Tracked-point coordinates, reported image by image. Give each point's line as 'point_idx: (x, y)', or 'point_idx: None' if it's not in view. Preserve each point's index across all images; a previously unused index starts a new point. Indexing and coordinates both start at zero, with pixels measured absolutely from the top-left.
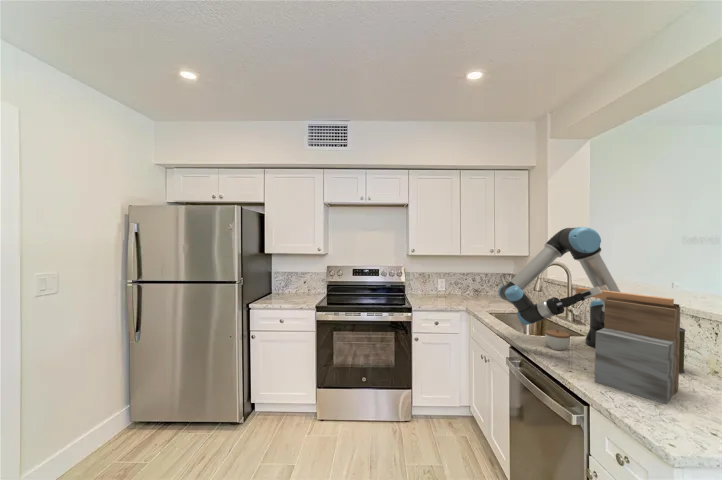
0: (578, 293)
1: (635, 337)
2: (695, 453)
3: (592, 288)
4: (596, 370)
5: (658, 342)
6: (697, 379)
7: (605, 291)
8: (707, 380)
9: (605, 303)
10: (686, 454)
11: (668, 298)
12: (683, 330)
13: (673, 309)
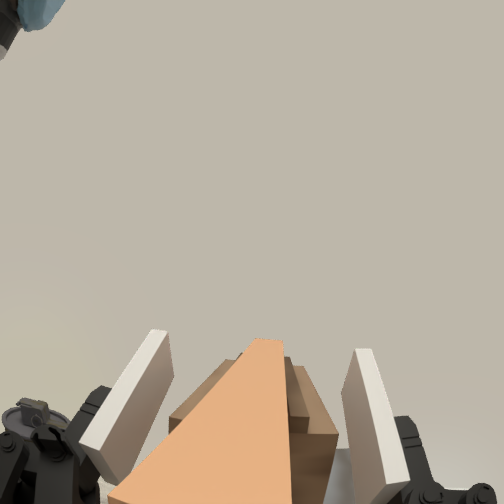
0: (437, 498)
1: (352, 484)
2: (451, 488)
3: (380, 381)
4: None
5: (344, 458)
6: (107, 498)
7: (285, 383)
8: (103, 488)
9: (334, 452)
10: (463, 488)
11: (265, 340)
12: (62, 415)
13: (303, 366)
